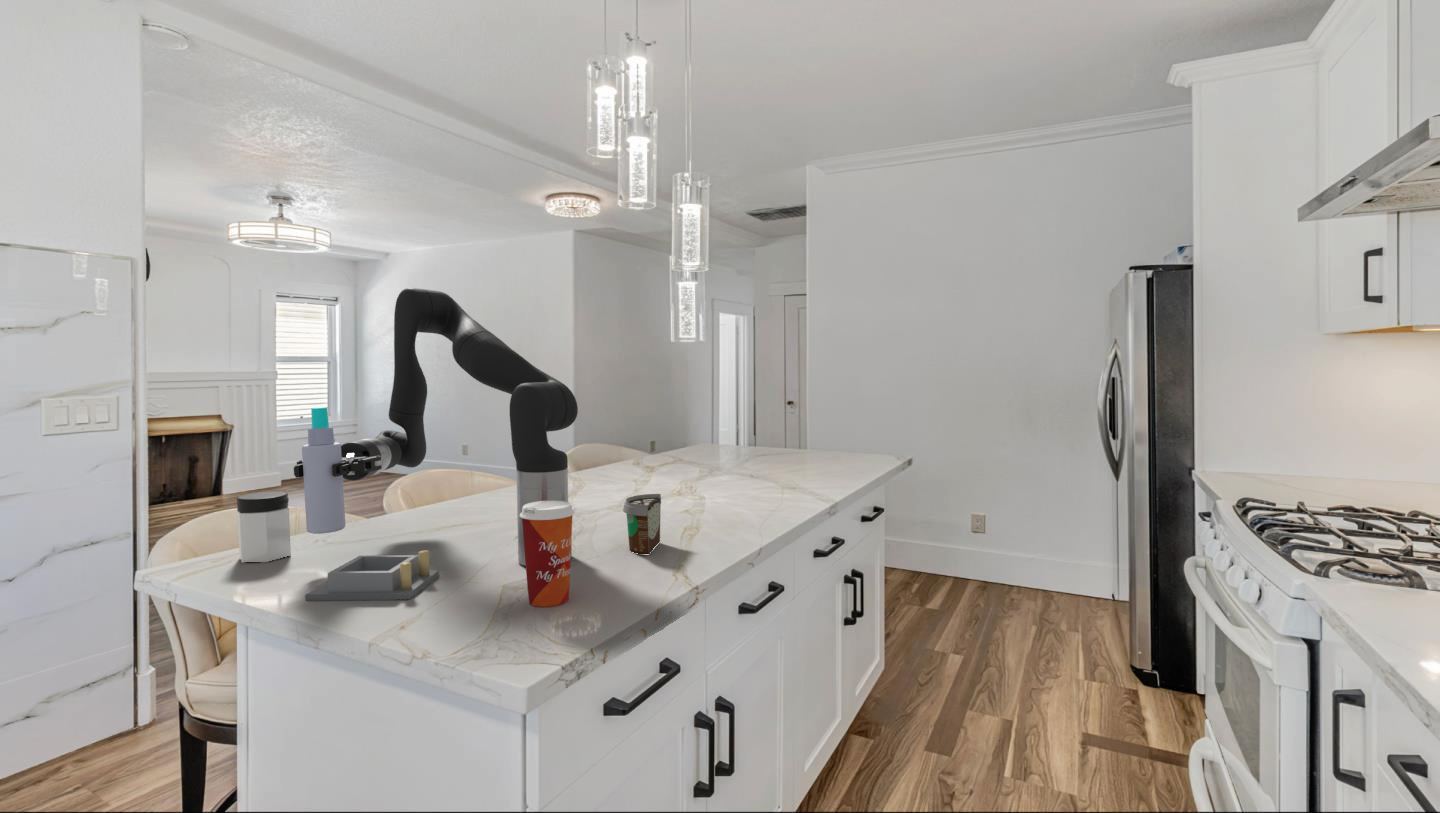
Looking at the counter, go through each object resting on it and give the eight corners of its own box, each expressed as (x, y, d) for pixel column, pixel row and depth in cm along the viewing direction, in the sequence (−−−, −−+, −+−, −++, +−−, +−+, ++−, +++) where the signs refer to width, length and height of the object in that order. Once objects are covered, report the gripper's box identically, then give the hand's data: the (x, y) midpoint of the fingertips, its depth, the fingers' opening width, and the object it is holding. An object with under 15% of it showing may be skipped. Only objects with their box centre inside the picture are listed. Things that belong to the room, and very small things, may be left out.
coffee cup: (548, 613, 101) (546, 512, 101) (509, 603, 106) (507, 506, 105) (587, 597, 109) (586, 502, 108) (550, 588, 113) (548, 497, 112)
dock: (439, 576, 120) (438, 547, 119) (409, 599, 108) (408, 568, 108) (345, 577, 120) (344, 548, 119) (305, 600, 108) (304, 569, 107)
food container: (632, 540, 144) (632, 492, 143) (661, 541, 143) (661, 493, 142) (615, 556, 132) (614, 504, 131) (647, 557, 131) (646, 505, 130)
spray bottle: (308, 536, 120) (301, 409, 118) (305, 529, 125) (297, 408, 123) (348, 530, 123) (341, 407, 122) (343, 524, 128) (336, 406, 127)
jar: (294, 558, 131) (291, 495, 131) (242, 566, 126) (239, 501, 125) (287, 548, 138) (284, 489, 137) (237, 556, 133) (234, 494, 132)
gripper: (326, 440, 137) (272, 450, 120) (398, 438, 137) (355, 448, 121) (328, 478, 138) (275, 493, 121) (400, 476, 138) (358, 491, 121)
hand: (315, 471), depth 121 cm, fingers closed on spray bottle, 6 cm apart
